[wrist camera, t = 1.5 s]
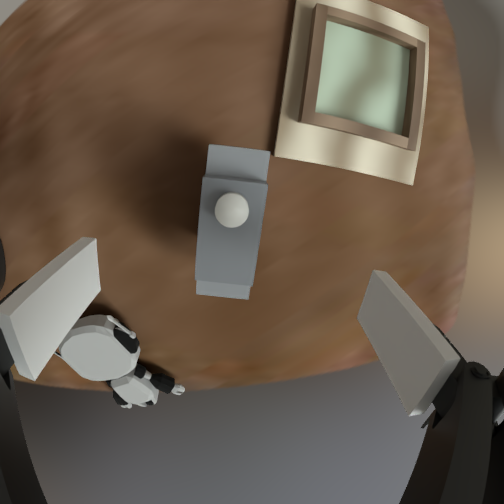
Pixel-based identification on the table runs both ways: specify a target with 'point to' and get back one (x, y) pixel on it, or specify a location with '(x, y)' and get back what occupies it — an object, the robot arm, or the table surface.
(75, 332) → the robot toy
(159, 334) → the table surface
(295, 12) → the pocket board
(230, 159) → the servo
